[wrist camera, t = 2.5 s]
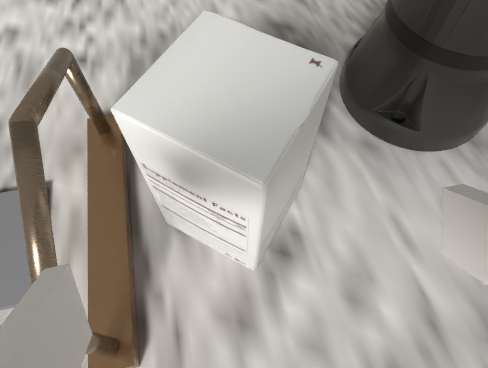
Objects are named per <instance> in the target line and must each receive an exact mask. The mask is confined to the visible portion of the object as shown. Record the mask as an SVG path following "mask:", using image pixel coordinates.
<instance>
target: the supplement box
mask: <svg viewBox="0 0 488 368" xmlns="http://www.w3.org/2000/svg"><path fill="white" fill-rule="evenodd" d="M338 64H339V62H338V61H337V60H335V59H333V58H330V57H327V56H324V55H321V54H319V53H316V52H313V51H310V50H308V49H305V48H302V47H299V46H297V45H294V44H291V43H289V42H286V41H283V40H281V39H278V38H276V37H273V36H270V35H268V34H265V33H263V32H260V31H258V30H256V29H253V28H251V27H248V26H246V25H243V24H241V23H239V22H236V21H234V20H231V19H229V18H226V17H223V16H221V15H218V14H215V13H211V12H208V11H205V10H204V11H203V12H202V13H201V14H200V15H199V16H198V17H197V18H196V19H195V20H194V22H193V23H192V24H191V25H190V26H189V27H188V28H187V29H186V30H185V31H184V32H183V33H182V34H181V35H180V36H179V37H178V38H177V39H176V41H175V42H174V43H173V44H172V45H171V46H170V47H169V48H168V49H167V50H166V51H165V52H164V53H163V54H162V55H161V56H160V57H159V58H158V60H157V61H156V62H155V63H154V64H153V65H152V66H151V67H150V68H149V69H148V70H147V71H146V72H145V73H144V74H143V75H142V76H141V77H140V78H139V79H138V81H137V82H136V83H135V84H134V85H133V86H132V87H131V88H130V89H129V90H128V91H127V92H126V93H125V94H124V95H123V96H122V97H121V98H120V99H119V100H118V101H117V102H116V103H115V104H114V105H113V106H112V107H111V112H112V114H113V116H114V118H115V120H116V122H117V124H118V126H119V128H120V130H121V132H122V134H123V136H124V138H125V140H126V142H127V144H128V146H129V148H130V150H131V152H132V154H133V156H134V158H135V160H136V162H137V164H138V166H139V168H140V170H141V172H142V174H143V176H144V178H145V180H146V182H147V184H148V186H149V188H150V190H151V192H152V194H153V196H154V198H155V200H156V202H157V204H158V206H159V208H160V210H161V212H162V214H163V216H164V218H165V220H166V222H167V223H168V224H169V225H171V226H173V227H175V228H176V229H178V230H180V231H182V232H184V233H186V234H187V235H189V236H191V237H193V238H195V239H196V240H198V241H200V242H202V243H204V244H206V245H207V246H209V247H211V248H213V249H215V250H216V251H218V252H220V253H222V254H224V255H226V256H227V257H229V258H231V259H233V260H235V261H237V262H238V263H240V264H242V265H244V266H246V267H247V268H249V269H251V270H255V269H256V268H257V266H258V264H259V262H260V261H261V259H262V257H263V255H264V253H265V252H266V250H267V248H268V246H269V244H270V242H271V241H272V239H273V237H274V235H275V233H276V232H277V230H278V228H279V226H280V224H281V222H282V221H283V219H284V217H285V215H286V213H287V211H288V210H289V208H290V206H291V204H292V202H293V200H294V199H295V197H296V195H297V193H298V191H299V189H300V186H301V183H302V180H303V177H304V173H305V170H306V167H307V164H308V161H309V157H310V154H311V151H312V148H313V145H314V141H315V138H316V135H317V132H318V129H319V125H320V122H321V119H322V116H323V113H324V110H325V106H326V103H327V100H328V97H329V93H330V90H331V87H332V84H333V81H334V77H335V74H336V71H337V68H338Z"/></svg>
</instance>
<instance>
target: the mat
mask: <svg viewBox="0 0 488 368" xmlns="http://www.w3.org/2000/svg"><path fill="white" fill-rule="evenodd" d="M46 190H47V197H48V188H47V187H46ZM30 287H31V284H30V277H29V269H28V262H27V255H26V248H25V240H24V233H23V226H22V219H21V211H20V204H19V197H18V190H13V191H8V192H2V193H0V310H3V309H8V308H13V307H16V305H17V304H18V303H19V301H20V300H21V299H22V297H23V296H24V295H25V293H26V292H27V291H28V289H29V288H30Z"/></svg>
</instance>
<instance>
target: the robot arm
mask: <svg viewBox="0 0 488 368" xmlns="http://www.w3.org/2000/svg"><path fill="white" fill-rule="evenodd" d="M340 92H341V96H342V99H343V102H344V104H345V106H346V108H347V110H348V111H349V113H350V114H351V115H352V117H353V118H354V119H355V120H356V121H357V122H358V123H359V124H360V125H361V126H362V127H363V128H365V129H366V130H367V131H369V132H370V133H371V134H373V135H375V136H376V137H378V138H380V139H382V140H384V141H386V142H388V143H390V144H393V145H396V146H399V147H402V148H406V149H410V150H416V151H442V150H448V149H452V148H455V147H457V146H460V145H462V144H464V143H466V142H467V141H469V140H470V139H471V138H473V137H474V136H475V135H476V134H477V133H478V132H479V131H480V130H481V129H482V128H483V127H484V126H485V125H486V124H487V122H488V0H388V2H387V4H386V7H385V9H384V11H383V12H382V13H381V14H380V15H379V17H378V18H377V19H376V21H375V22H374V23H373V25H372V26H371V28H370V29H369V31H368V32H367V33H366V35H365V36H364V37H363V38H361V39H360V40H359V41H358V42H357V43H356V44H355V46H354V47H353V48H352V49H351V51H350V53H349V55H348V57H347V59H346V62H345V65H344V68H343V70H342V73H341V77H340ZM442 256H443V257H445V258H447V259H448V260H450V261H451V262H453V263H454V264H456V265H457V266H459V267H460V268H462V269H463V270H465V271H466V272H468V273H469V274H471V275H472V276H474V277H475V278H477V279H478V280H480V281H481V282H483V283H484V284H486V285H487V286H488V193H486V192H483V191H481V190H478V189H475V188H472V187H469V186H467V185H464V184H460V185H455V186H451V187H446V188H443V225H442ZM91 337H92V331H91V328H90V325H89V322H88V319H87V316H86V313H85V310H84V307H83V304H82V301H81V298H80V295H79V292H78V289H77V286H76V283H75V280H74V277H73V274H72V271H71V268H70V265H69V264H66V265H61V266H56V267H51V268H46V269H44V270H43V271H42V272H41V274H40V275H39V276H38V278H37V279H36V280H35V282H34V283H33V284H32V286H31V287H30V288H29V289H28V291H27V292H26V293H25V295H24V296H23V297H22V299H21V300H20V301H19V303H18V304H17V305H16V307H15V308H14V309H13V310H12V312H11V313H10V314H9V316H8V317H7V318H6V320H5V321H4V322H3V324H2V325H1V326H0V368H80V367H81V364H82V361H83V359H84V356H85V353H86V351H87V348H88V345H89V343H90V340H91Z"/></svg>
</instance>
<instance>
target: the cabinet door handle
mask: <svg viewBox="0 0 488 368" xmlns="http://www.w3.org/2000/svg"><path fill="white" fill-rule="evenodd" d="M64 76H66V78H67V79H68V81H69V83H70V85H71V86H72V88H73V90H74V91H75V93H76V95H77V97H78V98H79V100H80V102H81V103H82V105H83V107H84V109H85V110H86V112H87V114H88V115H89V117H90V118H89V119H87V133H88V322H89V325H90V328H91V331H92V337H91V340H90V343H89V345H88V348H87V351H86V353H85V354H88V368H134V367H139V366H140V361H139V346H138V331H137V315H136V300H135V285H134V269H133V254H132V239H131V223H130V208H129V193H128V177H127V162H126V147H125V138H124V136H123V134H122V132H121V130H120V128H119V126H118V124H117V122H116V120H115V118H114V116H113V115H108V116H105V115H104V114H103V112H102V110H101V108H100V106H99V104H98V102H97V100H96V98H95V96H94V94H93V92H92V91H91V89H90V87H89V85H88V83H87V81H86V79H85V77H84V75H83V73H82V71H81V69H80V68H79V66H78V64H77V62H76V60H75V58H74V56H73V54H72V53H71V51H70V50H68V49H66V48H59V49H57V50H56V52H55V53H54V55H53V56H52V57H51V59H50V60H49V62H48V63H47V65H46V66H45V68H44V69H43V71H42V72H41V73H40V75H39V76H38V78H37V79H36V81H35V82H34V84H33V85H32V87H31V88H30V89H29V91H28V92H27V94H26V95H25V97H24V98H23V100H22V101H21V103H20V104H19V106H18V107H17V108H16V110H15V111H14V113H13V114H12V116H11V117H10V119H9V131H10V139H11V146H12V153H13V160H14V168H15V175H16V182H17V189H18V197H19V204H20V211H21V219H22V226H23V233H24V240H25V248H26V255H27V262H28V269H29V277H30V284H31V286H32V284H33V283H34V282H35V280H36V279H37V278H38V276H39V275H40V274H41V272H42V271H43V270H44V269H46V268H51V267H56V266H57V259H56V252H55V245H54V238H53V232H52V225H51V218H50V211H49V204H48V197H47V190H46V183H45V176H44V169H43V162H42V156H41V149H40V142H39V135H38V128H37V127H38V125H39V123H40V122H41V120H42V118H43V116H44V114H45V112H46V110H47V108H48V106H49V105H50V103H51V101H52V99H53V97H54V95H55V93H56V91H57V90H58V88H59V86H60V84H61V82H62V80H63V78H64Z"/></svg>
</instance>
